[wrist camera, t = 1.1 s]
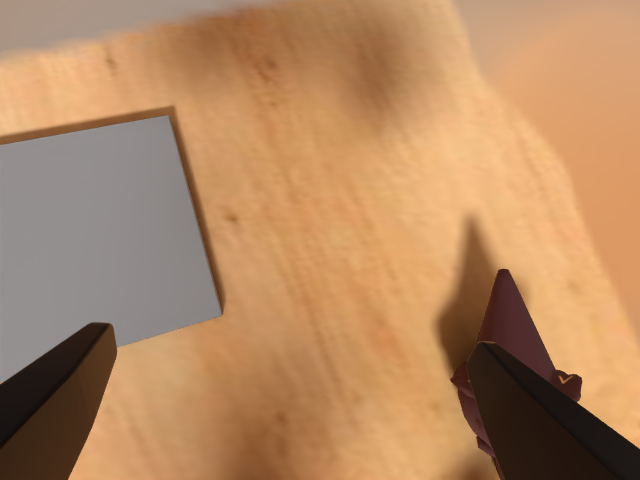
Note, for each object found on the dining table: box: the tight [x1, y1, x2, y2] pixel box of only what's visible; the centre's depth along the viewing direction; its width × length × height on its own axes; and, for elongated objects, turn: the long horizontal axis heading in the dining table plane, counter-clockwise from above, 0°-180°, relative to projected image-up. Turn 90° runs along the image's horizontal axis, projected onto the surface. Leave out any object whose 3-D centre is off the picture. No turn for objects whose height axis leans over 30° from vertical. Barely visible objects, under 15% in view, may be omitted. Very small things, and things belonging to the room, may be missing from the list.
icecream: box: [450, 269, 582, 480], centre depth 22 cm, size 7×7×15 cm
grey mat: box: [0, 115, 223, 383], centre depth 21 cm, size 13×13×1 cm
